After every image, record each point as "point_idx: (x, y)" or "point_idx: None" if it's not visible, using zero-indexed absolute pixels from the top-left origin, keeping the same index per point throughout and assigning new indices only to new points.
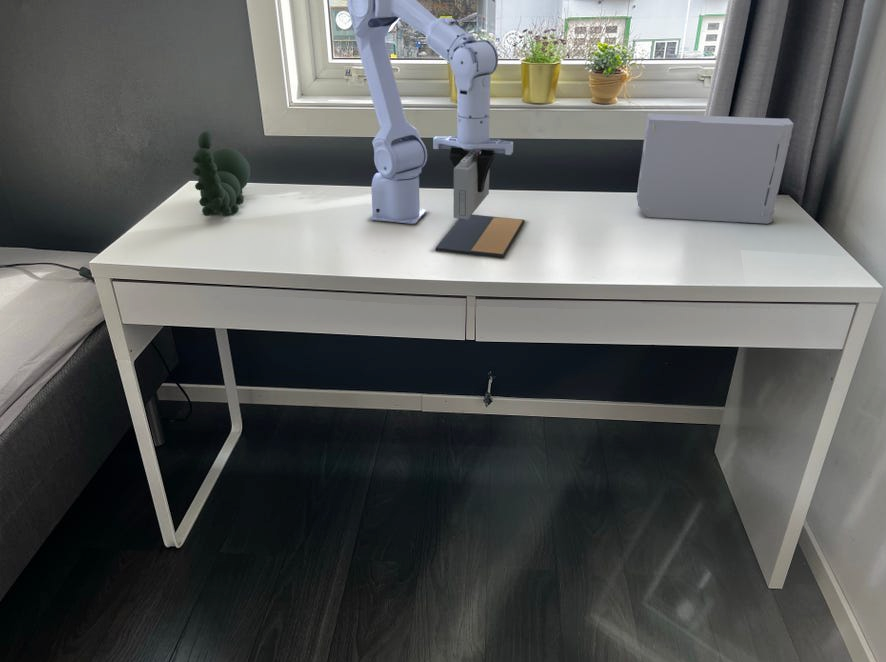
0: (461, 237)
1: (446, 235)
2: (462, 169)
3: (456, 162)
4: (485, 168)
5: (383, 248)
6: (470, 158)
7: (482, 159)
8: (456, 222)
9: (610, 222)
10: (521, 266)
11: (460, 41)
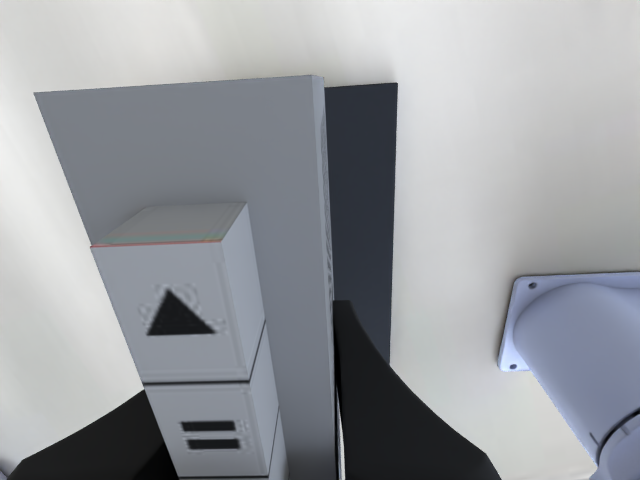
0: (338, 209)
1: (390, 210)
2: (149, 88)
3: (397, 424)
4: (126, 406)
5: (599, 35)
6: (175, 447)
7: (74, 476)
8: (389, 314)
9: (42, 421)
10: (64, 51)
11: None
